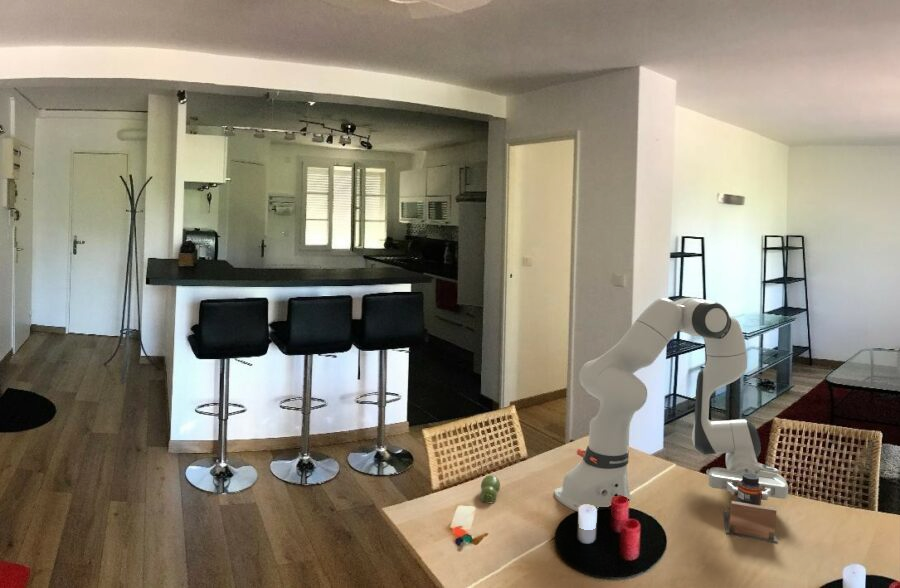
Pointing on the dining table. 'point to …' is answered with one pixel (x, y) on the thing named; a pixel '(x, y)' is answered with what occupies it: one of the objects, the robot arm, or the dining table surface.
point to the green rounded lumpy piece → (489, 488)
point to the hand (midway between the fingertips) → (749, 495)
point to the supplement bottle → (749, 489)
